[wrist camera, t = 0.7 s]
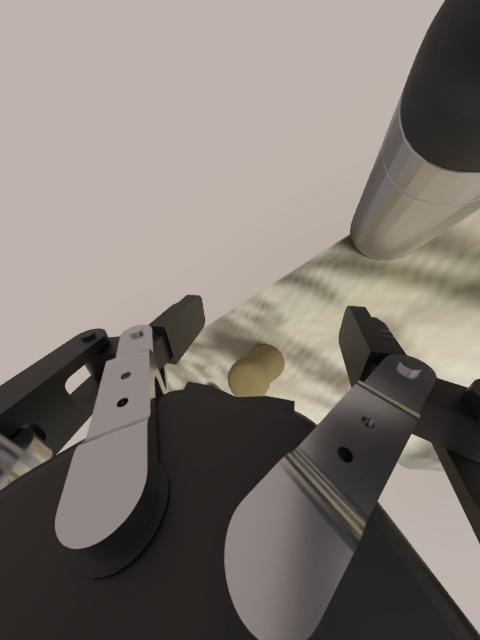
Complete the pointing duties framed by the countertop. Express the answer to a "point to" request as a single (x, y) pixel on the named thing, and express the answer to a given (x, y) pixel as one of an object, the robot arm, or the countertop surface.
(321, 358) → the countertop surface
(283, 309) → the countertop surface
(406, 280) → the countertop surface
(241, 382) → the cork
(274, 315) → the countertop surface
